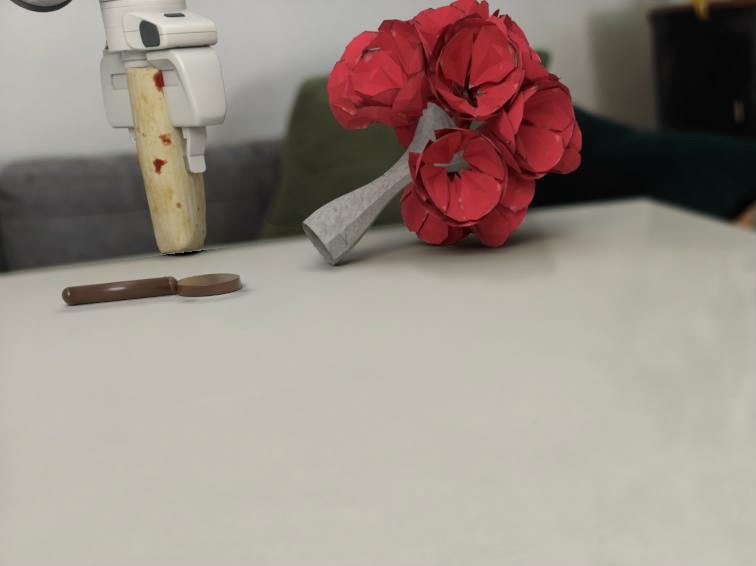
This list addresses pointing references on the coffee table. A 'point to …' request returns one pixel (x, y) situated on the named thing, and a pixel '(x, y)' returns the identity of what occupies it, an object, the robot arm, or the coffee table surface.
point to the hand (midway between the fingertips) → (174, 171)
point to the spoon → (152, 288)
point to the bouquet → (449, 127)
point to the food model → (165, 167)
